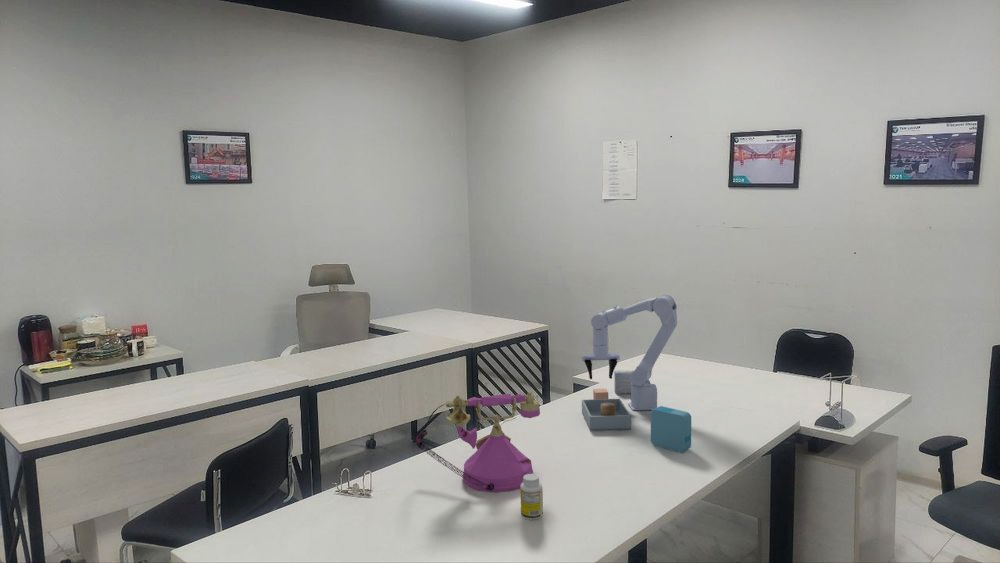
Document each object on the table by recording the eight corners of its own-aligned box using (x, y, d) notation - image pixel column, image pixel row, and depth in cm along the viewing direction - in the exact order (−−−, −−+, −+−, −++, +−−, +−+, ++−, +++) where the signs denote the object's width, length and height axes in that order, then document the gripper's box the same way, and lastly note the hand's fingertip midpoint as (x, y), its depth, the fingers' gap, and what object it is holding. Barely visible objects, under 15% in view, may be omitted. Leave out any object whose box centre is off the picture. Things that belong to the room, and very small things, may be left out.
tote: (619, 411, 239) (619, 398, 238) (631, 429, 220) (631, 415, 219) (581, 412, 239) (581, 399, 238) (589, 430, 220) (589, 416, 219)
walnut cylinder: (610, 421, 227) (609, 401, 226) (618, 425, 223) (618, 405, 222) (598, 423, 225) (597, 404, 224) (606, 427, 221) (605, 408, 220)
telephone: (532, 459, 197) (531, 379, 194) (551, 490, 175) (550, 402, 172) (416, 470, 191) (412, 388, 188) (420, 504, 169) (416, 413, 166)
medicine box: (633, 390, 265) (633, 370, 264) (634, 393, 261) (634, 373, 260) (614, 390, 266) (614, 370, 265) (615, 393, 261) (615, 373, 260)
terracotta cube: (606, 400, 253) (605, 388, 252) (608, 404, 248) (608, 392, 247) (593, 401, 253) (593, 388, 252) (595, 405, 248) (595, 392, 247)
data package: (691, 449, 201) (691, 412, 200) (684, 453, 198) (684, 416, 197) (657, 440, 210) (657, 405, 208) (650, 444, 206) (650, 408, 205)
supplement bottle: (529, 508, 165) (529, 470, 164) (547, 514, 162) (546, 475, 160) (516, 516, 161) (515, 477, 160) (534, 523, 157) (533, 483, 156)
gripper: (617, 341, 251) (617, 375, 253) (580, 342, 251) (580, 376, 253) (620, 345, 244) (620, 379, 246) (582, 346, 244) (583, 380, 246)
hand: (600, 378), depth 249 cm, fingers open, 7 cm apart
